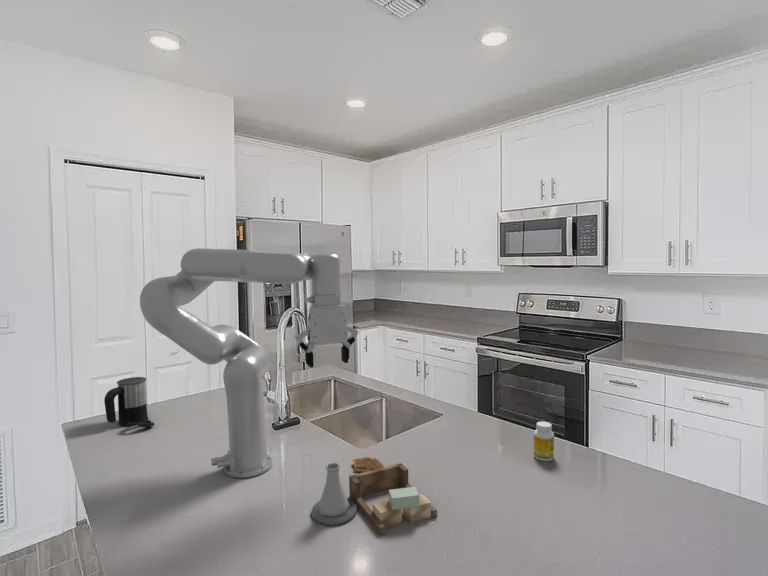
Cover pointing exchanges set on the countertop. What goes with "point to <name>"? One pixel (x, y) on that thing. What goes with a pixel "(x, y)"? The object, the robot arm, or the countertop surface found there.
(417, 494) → the sage painted offcut block
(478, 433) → the countertop surface
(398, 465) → the walnut rack
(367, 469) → the shard
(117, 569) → the countertop surface
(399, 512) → the oak offcut block
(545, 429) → the supplement bottle
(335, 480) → the flask
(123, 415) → the milk frother
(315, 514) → the disc
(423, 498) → the birch offcut block
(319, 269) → the robot arm
